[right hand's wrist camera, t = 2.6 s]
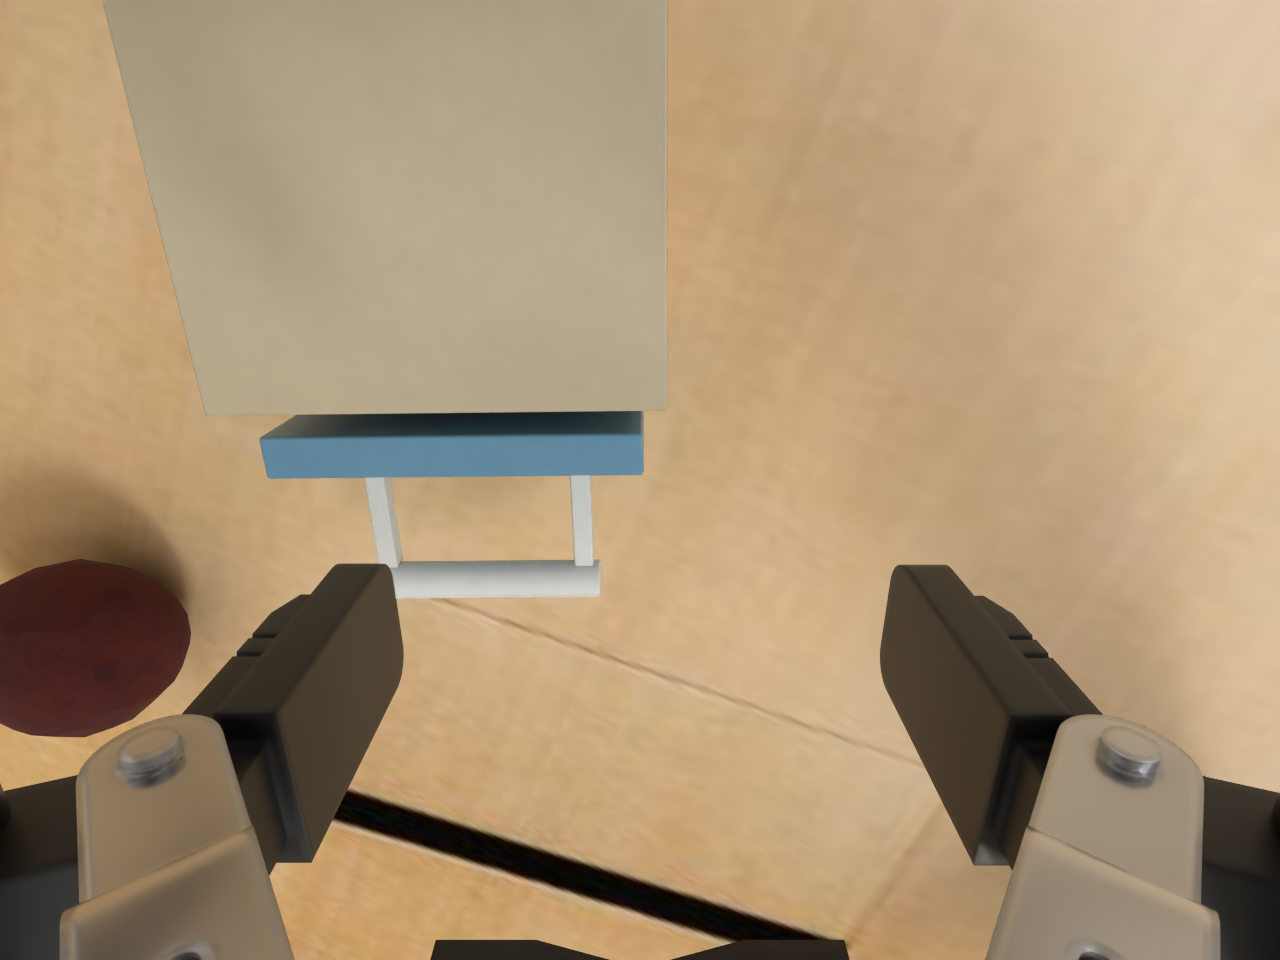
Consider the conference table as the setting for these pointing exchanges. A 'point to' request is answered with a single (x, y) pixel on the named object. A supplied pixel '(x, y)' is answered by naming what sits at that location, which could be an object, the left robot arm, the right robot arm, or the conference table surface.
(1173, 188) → the conference table surface
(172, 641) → the potato
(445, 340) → the cabinet
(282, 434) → the drawer
